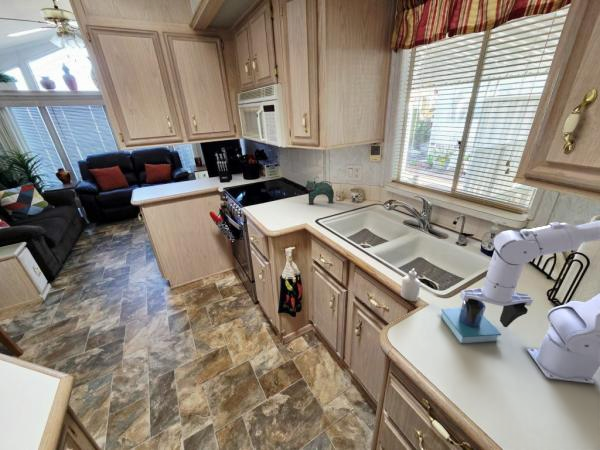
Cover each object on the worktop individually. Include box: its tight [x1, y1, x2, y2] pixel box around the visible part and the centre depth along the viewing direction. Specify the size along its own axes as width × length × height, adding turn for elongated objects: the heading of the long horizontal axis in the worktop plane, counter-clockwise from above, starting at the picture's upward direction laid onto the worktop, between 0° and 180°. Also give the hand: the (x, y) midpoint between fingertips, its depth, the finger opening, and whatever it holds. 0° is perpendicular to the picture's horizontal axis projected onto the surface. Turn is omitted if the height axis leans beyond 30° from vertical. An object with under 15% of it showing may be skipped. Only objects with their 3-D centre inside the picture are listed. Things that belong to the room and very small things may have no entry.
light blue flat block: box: [441, 307, 502, 344], centre depth 74 cm, size 11×11×3 cm
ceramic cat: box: [305, 176, 335, 206], centre depth 178 cm, size 20×6×20 cm, turn 90°
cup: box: [459, 300, 486, 327], centre depth 72 cm, size 5×5×6 cm
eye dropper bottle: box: [400, 268, 421, 302], centre depth 85 cm, size 4×6×12 cm
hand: (486, 322), depth 64 cm, fingers open, 7 cm apart
